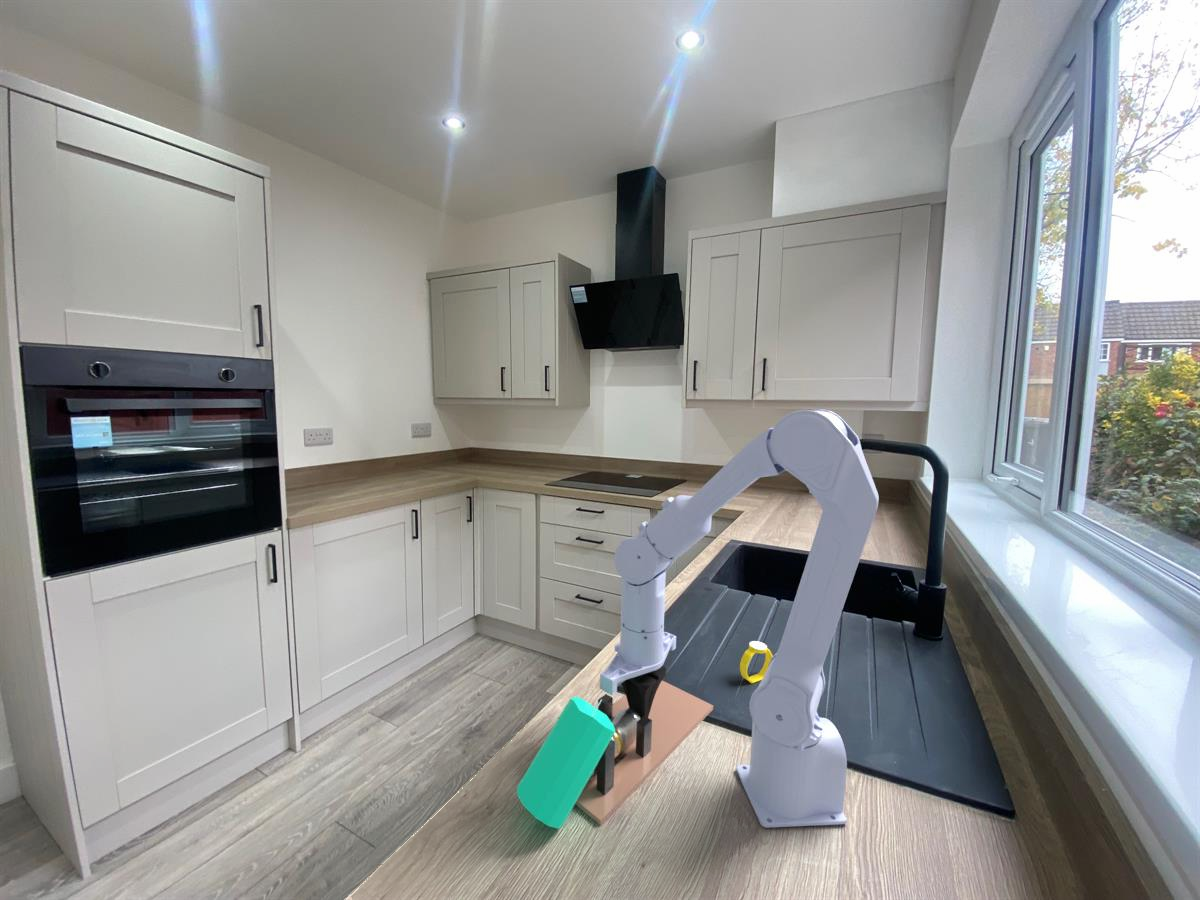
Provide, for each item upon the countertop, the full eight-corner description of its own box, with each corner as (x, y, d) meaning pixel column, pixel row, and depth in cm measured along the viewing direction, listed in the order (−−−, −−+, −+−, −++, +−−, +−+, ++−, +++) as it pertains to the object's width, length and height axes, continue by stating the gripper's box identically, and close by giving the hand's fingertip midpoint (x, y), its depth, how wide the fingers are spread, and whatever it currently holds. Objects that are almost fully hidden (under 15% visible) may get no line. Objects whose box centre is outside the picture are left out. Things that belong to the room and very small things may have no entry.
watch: (761, 672, 78) (765, 638, 77) (774, 681, 75) (779, 646, 75) (734, 678, 75) (738, 643, 75) (747, 688, 73) (751, 652, 72)
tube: (624, 723, 64) (624, 698, 63) (647, 735, 61) (647, 709, 61) (565, 778, 54) (564, 749, 54) (589, 794, 52) (589, 764, 52)
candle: (537, 786, 53) (595, 688, 56) (572, 828, 49) (632, 720, 52) (506, 783, 49) (570, 678, 52) (542, 829, 45) (609, 712, 48)
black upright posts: (605, 722, 64) (606, 684, 63) (650, 750, 59) (652, 709, 58) (557, 760, 57) (558, 717, 56) (604, 795, 52) (605, 749, 51)
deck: (651, 678, 75) (651, 674, 75) (713, 709, 68) (713, 705, 68) (532, 769, 56) (532, 764, 56) (600, 825, 49) (600, 820, 49)
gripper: (649, 596, 69) (646, 681, 71) (582, 631, 59) (581, 731, 60) (690, 611, 65) (686, 701, 66) (626, 652, 54) (623, 759, 56)
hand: (639, 717), depth 63 cm, fingers closed
